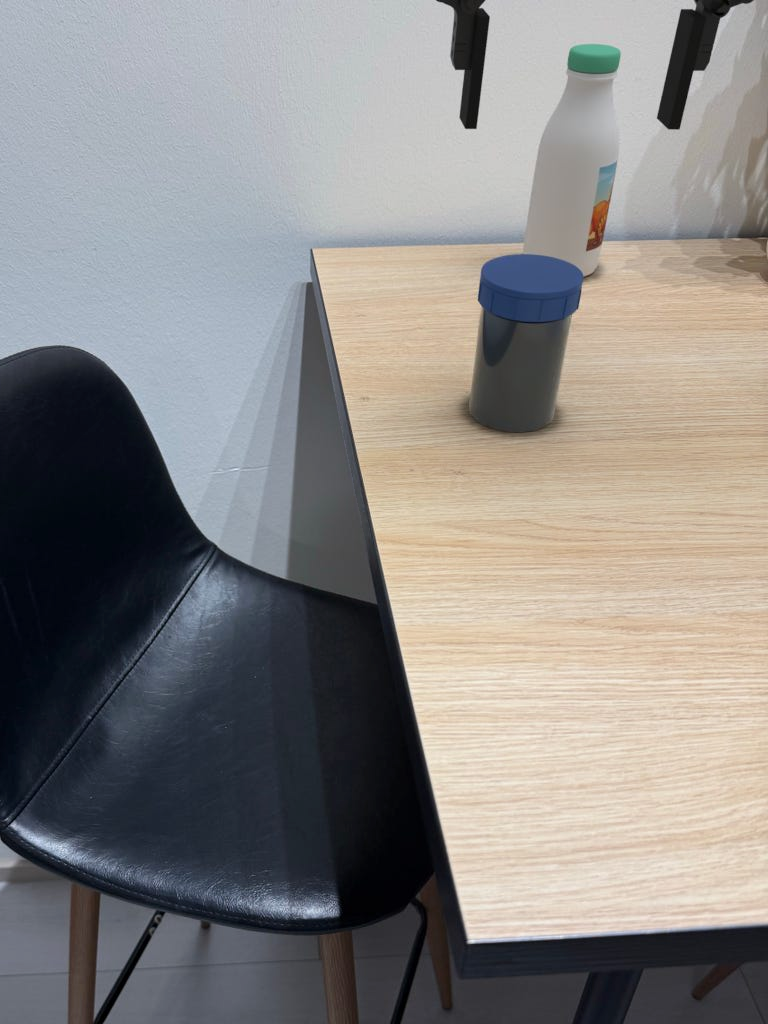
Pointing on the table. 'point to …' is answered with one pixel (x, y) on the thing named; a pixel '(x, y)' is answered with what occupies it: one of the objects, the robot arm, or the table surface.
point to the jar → (517, 372)
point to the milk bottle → (577, 163)
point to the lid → (530, 287)
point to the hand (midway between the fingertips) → (567, 124)
